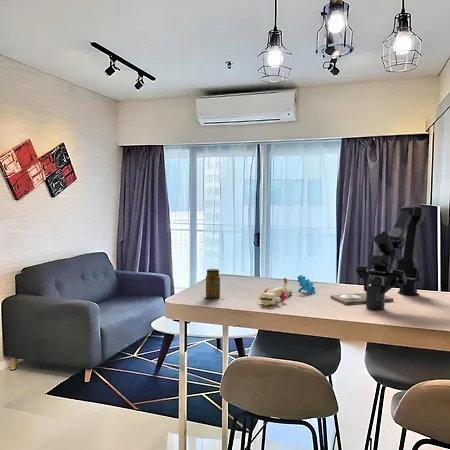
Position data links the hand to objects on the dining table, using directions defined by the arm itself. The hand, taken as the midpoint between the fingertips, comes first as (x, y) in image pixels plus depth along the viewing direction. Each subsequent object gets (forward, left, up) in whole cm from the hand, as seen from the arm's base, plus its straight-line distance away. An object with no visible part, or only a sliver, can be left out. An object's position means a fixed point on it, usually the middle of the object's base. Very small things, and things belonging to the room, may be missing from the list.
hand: (373, 292), depth 167 cm
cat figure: (+31, -23, -7) cm, 39 cm away
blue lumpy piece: (+12, -33, -7) cm, 36 cm away
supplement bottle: (-1, -1, -7) cm, 7 cm away
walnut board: (-4, -15, -7) cm, 17 cm away
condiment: (+55, -34, -7) cm, 65 cm away
